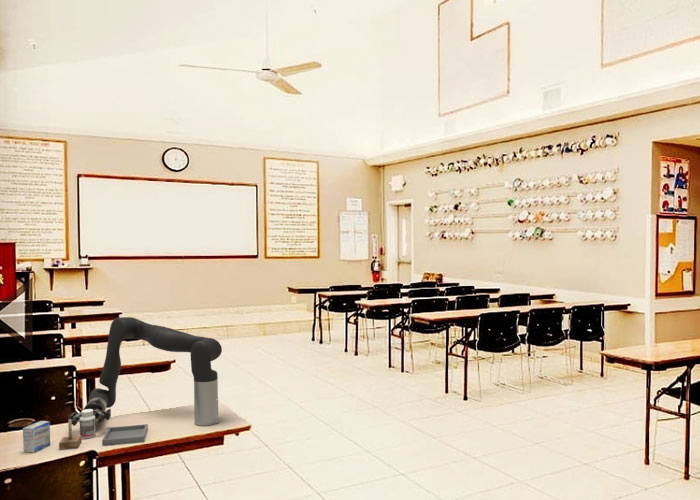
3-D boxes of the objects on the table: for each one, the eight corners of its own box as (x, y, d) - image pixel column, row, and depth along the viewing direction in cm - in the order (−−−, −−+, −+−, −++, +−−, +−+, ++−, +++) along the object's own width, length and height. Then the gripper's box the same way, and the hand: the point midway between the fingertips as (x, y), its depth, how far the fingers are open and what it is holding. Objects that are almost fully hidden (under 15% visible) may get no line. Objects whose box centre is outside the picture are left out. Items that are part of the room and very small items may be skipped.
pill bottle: (83, 434, 209) (82, 408, 209) (97, 433, 210) (97, 408, 210) (77, 439, 204) (77, 413, 204) (92, 438, 204) (92, 412, 204)
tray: (147, 429, 214) (147, 424, 214) (143, 441, 201) (143, 436, 200) (108, 432, 211) (108, 427, 210) (102, 445, 197) (102, 440, 197)
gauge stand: (81, 442, 201) (80, 416, 201) (77, 448, 195) (77, 421, 195) (63, 444, 199) (62, 417, 199) (59, 450, 193) (58, 423, 193)
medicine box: (34, 453, 191) (33, 428, 191) (22, 452, 192) (22, 427, 192) (50, 444, 199) (50, 421, 199) (39, 444, 200) (39, 420, 199)
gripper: (75, 401, 219) (65, 413, 203) (114, 398, 222) (107, 410, 207) (75, 420, 219) (65, 434, 203) (114, 416, 222) (107, 430, 207)
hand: (86, 422), depth 205 cm, fingers open, 8 cm apart
